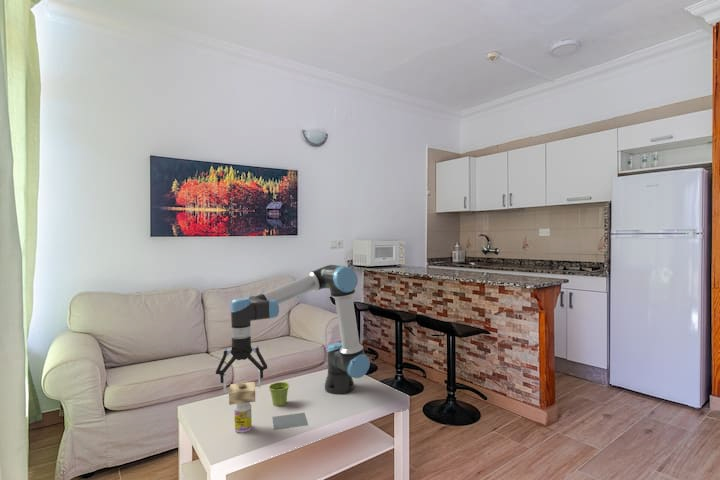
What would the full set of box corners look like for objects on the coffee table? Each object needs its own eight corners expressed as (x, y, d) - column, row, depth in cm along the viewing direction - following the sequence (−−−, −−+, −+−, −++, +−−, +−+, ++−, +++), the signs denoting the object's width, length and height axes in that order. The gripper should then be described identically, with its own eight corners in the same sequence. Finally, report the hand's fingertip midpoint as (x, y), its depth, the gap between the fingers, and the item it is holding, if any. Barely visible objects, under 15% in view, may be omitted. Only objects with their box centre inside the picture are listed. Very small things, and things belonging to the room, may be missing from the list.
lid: (255, 392, 168) (255, 379, 168) (255, 401, 159) (255, 388, 159) (230, 394, 166) (230, 382, 166) (229, 404, 156) (228, 391, 156)
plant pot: (285, 409, 180) (284, 390, 180) (265, 407, 182) (265, 389, 182) (292, 400, 190) (292, 382, 190) (274, 399, 192) (273, 381, 191)
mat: (304, 413, 176) (304, 412, 176) (308, 425, 165) (308, 424, 165) (272, 417, 172) (272, 416, 172) (273, 430, 161) (273, 429, 161)
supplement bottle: (231, 431, 161) (230, 400, 160) (241, 424, 167) (241, 394, 167) (245, 434, 158) (244, 402, 158) (255, 426, 164) (254, 396, 164)
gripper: (207, 341, 155) (209, 395, 155) (272, 336, 162) (274, 388, 162) (209, 336, 162) (210, 388, 162) (271, 331, 169) (273, 381, 169)
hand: (242, 388), depth 162 cm, fingers open, 13 cm apart
